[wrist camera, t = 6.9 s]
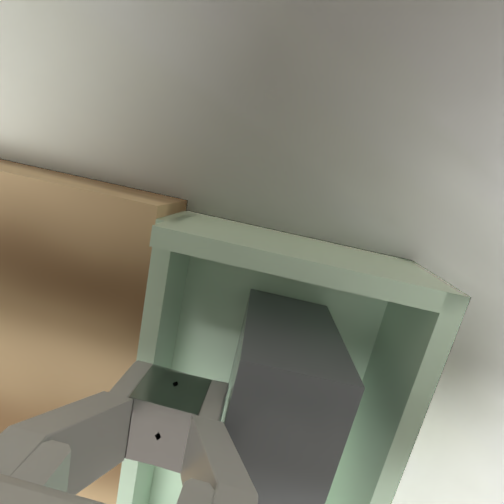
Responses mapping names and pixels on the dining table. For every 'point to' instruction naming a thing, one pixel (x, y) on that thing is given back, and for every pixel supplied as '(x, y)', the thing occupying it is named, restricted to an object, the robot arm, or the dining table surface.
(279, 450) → the tile
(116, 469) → the board
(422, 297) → the tray
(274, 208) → the dining table surface
